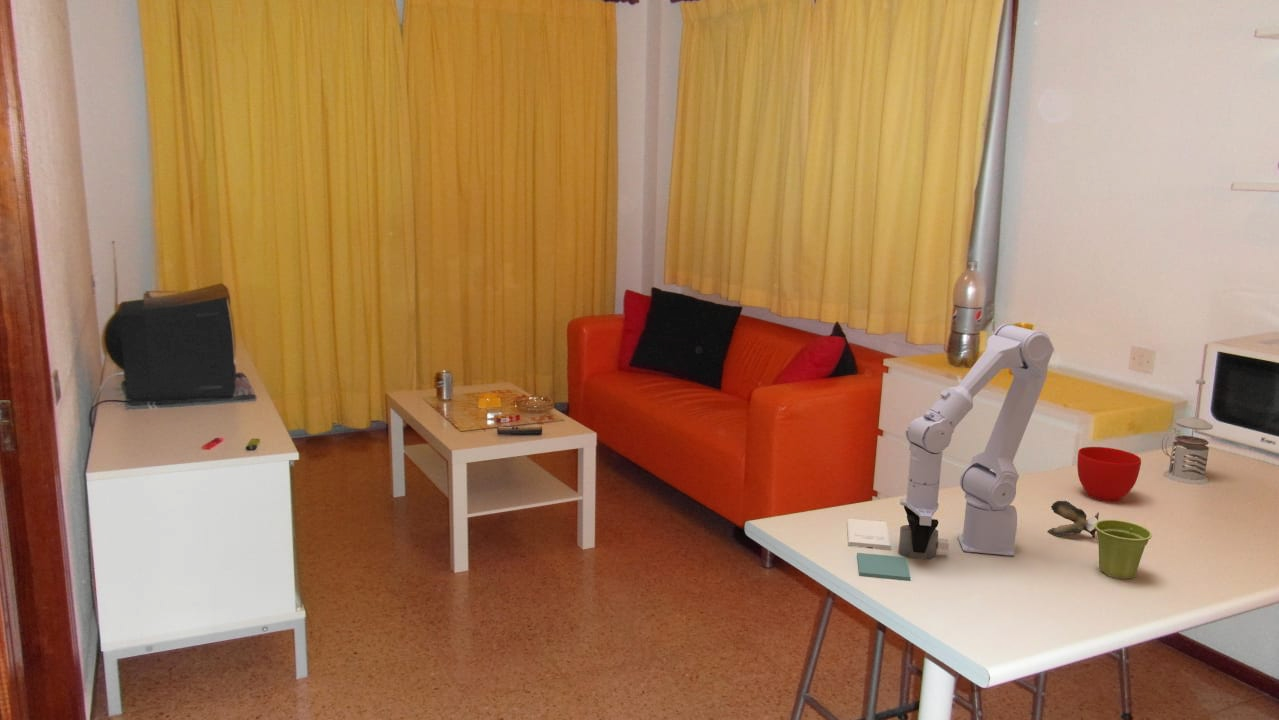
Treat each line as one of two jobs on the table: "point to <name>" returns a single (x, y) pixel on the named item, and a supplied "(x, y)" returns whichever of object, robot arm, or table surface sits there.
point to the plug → (932, 547)
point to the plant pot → (1120, 547)
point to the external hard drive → (868, 534)
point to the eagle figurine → (1076, 516)
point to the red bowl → (1107, 472)
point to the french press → (1189, 451)
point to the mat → (883, 566)
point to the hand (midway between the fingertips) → (917, 547)
